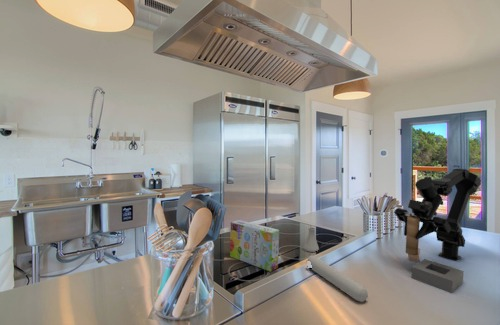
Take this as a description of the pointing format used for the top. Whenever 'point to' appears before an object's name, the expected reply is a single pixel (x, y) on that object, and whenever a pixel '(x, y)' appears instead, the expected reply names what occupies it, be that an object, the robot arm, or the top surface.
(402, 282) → the top surface
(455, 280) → the grey square socket block
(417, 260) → the short pin
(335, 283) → the tube
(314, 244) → the flask
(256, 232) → the snack box
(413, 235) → the tall pin
